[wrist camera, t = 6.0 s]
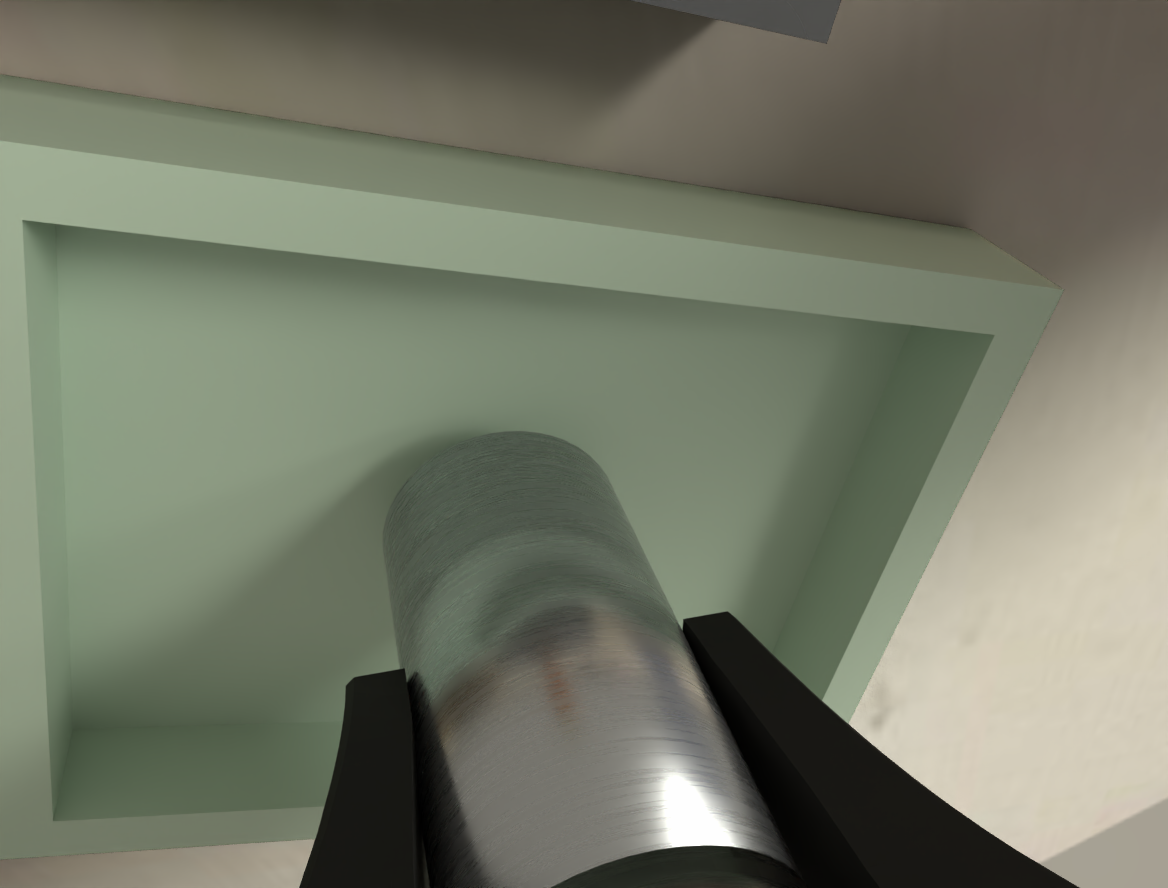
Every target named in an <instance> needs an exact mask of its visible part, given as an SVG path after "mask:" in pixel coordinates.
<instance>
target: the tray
mask: <svg viewBox="0 0 1168 888" xmlns="http://www.w3.org/2000/svg"><path fill="white" fill-rule="evenodd" d="M1063 291H1064V290H1063V289H1062V288H1060V287H1059V286H1057V285H1056V284H1054V283H1053V282H1051V281H1049V280H1048V279H1046V278H1045V277H1043V276H1042V275H1040V274H1039V273H1037V272H1036V271H1034V270H1033V269H1031V268H1029V267H1028V266H1026V265H1025V264H1023V263H1022V262H1020V261H1019V260H1017V259H1016V258H1014V257H1013V256H1011V255H1009V254H1008V253H1006V252H1005V251H1003V250H1002V249H1000V248H999V247H997V246H996V245H994V244H992V243H991V242H989V241H988V240H986V239H985V238H983V237H982V236H980V235H979V234H977V233H976V232H974V231H972V230H971V229H967V228H961V227H954V226H948V225H942V224H936V223H929V222H923V221H917V220H911V219H904V218H898V217H892V216H885V215H879V214H873V213H867V212H860V211H854V210H848V209H842V208H835V207H829V206H823V205H816V204H810V203H804V202H798V201H791V200H785V199H779V198H773V197H766V196H760V195H754V194H747V193H741V192H735V191H729V190H722V189H716V188H710V187H704V186H697V185H691V184H685V183H678V182H672V181H666V180H660V179H653V178H647V177H641V176H635V175H628V174H622V173H616V172H609V171H603V170H597V169H591V168H584V167H578V166H572V165H566V164H559V163H553V162H547V161H540V160H534V159H528V158H522V157H515V156H509V155H503V154H497V153H490V152H484V151H478V150H471V149H465V148H459V147H453V146H446V145H440V144H434V143H428V142H421V141H415V140H409V139H402V138H396V137H390V136H384V135H377V134H371V133H365V132H359V131H352V130H346V129H340V128H334V127H327V126H321V125H315V124H308V123H302V122H296V121H290V120H283V119H277V118H271V117H265V116H258V115H252V114H246V113H239V112H233V111H227V110H221V109H214V108H208V107H202V106H196V105H189V104H183V103H177V102H170V101H164V100H158V99H152V98H145V97H139V96H133V95H127V94H120V93H114V92H108V91H101V90H95V89H89V88H83V87H76V86H70V85H64V84H58V83H51V82H45V81H39V80H32V79H26V78H20V77H14V76H7V75H1V74H0V860H4V859H19V858H34V857H49V856H64V855H79V854H94V853H109V852H125V851H140V850H155V849H170V848H185V847H200V846H215V845H230V844H245V843H261V842H276V841H291V840H306V839H316V835H317V832H318V828H319V825H320V821H321V817H322V813H323V810H324V806H325V802H326V799H327V795H328V791H329V787H330V784H331V780H332V776H333V771H334V766H335V762H336V757H337V752H338V748H339V742H340V737H341V731H342V724H343V717H344V708H345V690H346V685H347V684H348V683H349V682H350V681H351V680H352V679H353V678H354V677H358V676H363V675H369V674H375V673H380V672H386V671H392V670H397V669H400V668H399V661H398V654H397V646H396V639H395V632H394V625H393V617H392V610H391V603H390V596H389V588H388V581H387V574H386V567H385V559H384V552H383V530H384V525H385V519H386V517H387V514H388V511H389V508H390V506H391V504H392V502H393V500H394V498H395V496H396V494H397V493H398V491H399V490H400V489H401V487H402V486H403V485H404V483H405V482H406V481H407V480H408V478H409V477H410V476H411V475H412V474H413V473H414V472H415V471H416V470H417V469H418V468H419V467H421V466H422V465H423V464H424V463H426V462H427V461H428V460H429V459H431V458H432V457H434V456H435V455H437V454H438V453H440V452H442V451H443V450H445V449H447V448H449V447H451V446H453V445H455V444H457V443H460V442H463V441H465V440H468V439H471V438H474V437H478V436H482V435H486V434H490V433H497V432H505V431H526V432H536V433H542V434H546V435H551V436H554V437H557V438H560V439H562V440H565V441H567V442H569V443H571V444H573V445H575V446H577V447H579V448H580V449H582V450H583V451H584V452H586V453H587V454H588V455H590V456H591V457H592V458H593V459H594V460H595V461H596V462H597V463H598V464H599V465H600V467H601V468H602V469H603V471H604V472H605V473H606V475H607V477H608V479H609V481H610V483H611V485H612V487H613V489H614V491H615V493H616V495H617V497H618V499H619V501H620V503H621V505H622V507H623V509H624V511H625V513H626V515H627V518H628V520H629V522H630V524H631V526H632V528H633V530H634V532H635V534H636V536H637V538H638V540H639V542H640V544H641V546H642V548H643V550H644V553H645V555H646V557H647V559H648V561H649V563H650V565H651V567H652V569H653V571H654V573H655V575H656V577H657V579H658V581H659V583H660V586H661V588H662V590H663V592H664V594H665V596H666V598H667V600H668V602H669V604H670V606H671V608H672V610H673V612H674V614H675V616H676V618H677V621H678V623H679V625H680V627H681V629H683V619H686V618H692V617H697V616H703V615H709V614H714V613H720V612H726V611H728V612H729V613H731V614H732V615H733V616H734V617H736V618H737V619H738V620H739V621H740V622H741V623H742V624H743V625H744V626H745V627H746V628H747V629H748V630H749V631H750V632H751V633H752V634H753V635H754V636H755V637H756V638H757V639H758V640H759V641H760V642H761V643H762V644H763V645H764V646H765V647H766V648H767V649H768V650H769V651H770V652H771V653H772V654H773V655H774V656H775V657H776V658H777V659H778V660H779V661H780V662H781V663H782V664H783V665H784V666H786V667H787V668H788V669H789V670H790V671H791V672H792V673H793V674H794V675H795V676H796V677H797V678H798V679H799V680H800V681H801V682H802V683H803V684H804V685H806V686H807V687H808V688H809V689H810V690H811V691H812V692H813V693H814V694H815V695H816V696H817V697H819V698H820V699H821V700H822V701H823V702H824V703H825V704H826V705H827V706H829V707H830V708H831V709H832V710H833V711H834V712H835V713H837V714H838V715H839V716H840V717H841V718H842V719H843V720H844V721H846V722H847V723H849V721H850V719H851V717H852V715H853V713H854V711H855V709H856V707H857V705H858V703H859V701H860V699H861V697H862V695H863V693H864V691H865V689H866V687H867V685H868V683H869V681H870V679H871V677H872V675H873V673H874V671H875V669H876V667H877V665H878V663H879V661H880V659H881V657H882V655H883V653H884V651H885V649H886V647H887V645H888V643H889V641H890V639H891V637H892V635H893V633H894V631H895V629H896V627H897V625H898V623H899V621H900V619H901V617H902V615H903V613H904V611H905V609H906V607H907V605H908V603H909V601H910V599H911V597H912V595H913V593H914V591H915V589H916V587H917V585H918V583H919V581H920V579H921V577H922V575H923V573H924V571H925V569H926V567H927V565H928V563H929V561H930V559H931V557H932V555H933V553H934V551H935V549H936V547H937V545H938V543H939V541H940V539H941V537H942V535H943V532H944V530H945V528H946V526H947V524H948V522H949V520H950V518H951V516H952V514H953V512H954V510H955V508H956V506H957V504H958V502H959V500H960V498H961V496H962V494H963V492H964V490H965V488H966V486H967V484H968V482H969V480H970V478H971V476H972V474H973V472H974V470H975V468H976V466H977V464H978V462H979V460H980V458H981V456H982V454H983V452H984V450H985V448H986V446H987V444H988V442H989V440H990V438H991V436H992V434H993V432H994V430H995V428H996V426H997V424H998V422H999V420H1000V418H1001V416H1002V414H1003V412H1004V410H1005V408H1006V406H1007V404H1008V402H1009V400H1010V398H1011V396H1012V394H1013V392H1014V390H1015V388H1016V386H1017V384H1018V382H1019V380H1020V378H1021V376H1022V374H1023V372H1024V370H1025V368H1026V366H1027V364H1028V362H1029V360H1030V358H1031V356H1032V354H1033V352H1034V350H1035V348H1036V346H1037V344H1038V342H1039V340H1040V338H1041V336H1042V333H1043V331H1044V329H1045V327H1046V325H1047V323H1048V321H1049V319H1050V317H1051V315H1052V313H1053V311H1054V309H1055V307H1056V305H1057V303H1058V301H1059V299H1060V297H1061V295H1062V293H1063Z"/></svg>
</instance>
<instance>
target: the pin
mask: <svg viewBox="0 0 1168 888" xmlns="http://www.w3.org/2000/svg"><path fill="white" fill-rule="evenodd" d="M383 552H384V559H385V567H386V574H387V581H388V588H389V596H390V603H391V610H392V617H393V625H394V632H395V639H396V646H397V654H398V661H399V668H400V669H403V668H405V674H406V680H407V687H408V694H409V700H410V707H411V714H412V721H413V729H414V737H415V745H416V761H417V780H418V796H419V811H420V820H421V828H422V835H423V842H424V849H425V857H426V864H427V871H428V878H429V886H430V888H807V886H806V884H805V882H804V880H803V878H802V876H801V874H800V872H799V870H798V868H797V866H796V864H795V861H794V859H793V857H792V855H791V853H790V851H789V849H788V847H787V845H786V843H785V841H784V839H783V837H782V835H781V833H780V831H779V829H778V826H777V824H776V822H775V820H774V818H773V816H772V814H771V812H770V810H769V808H768V806H767V804H766V802H765V800H764V798H763V796H762V793H761V791H760V789H759V787H758V785H757V783H756V781H755V779H754V777H753V775H752V773H751V771H750V769H749V767H748V765H747V763H746V761H745V758H744V756H743V754H742V752H741V750H740V748H739V746H738V744H737V742H736V740H735V738H734V736H733V734H732V732H731V730H730V728H729V726H728V723H727V721H726V719H725V717H724V715H723V713H722V711H721V709H720V707H719V705H718V703H717V701H716V699H715V697H714V695H713V693H712V691H711V688H710V686H709V684H708V682H707V680H706V678H705V676H704V674H703V672H702V670H701V668H700V666H699V664H698V662H697V660H696V658H695V656H694V653H693V651H692V649H691V647H690V645H689V643H688V641H687V639H686V637H685V635H684V633H683V631H682V629H681V627H680V625H679V623H678V621H677V618H676V616H675V614H674V612H673V610H672V608H671V606H670V604H669V602H668V600H667V598H666V596H665V594H664V592H663V590H662V588H661V586H660V583H659V581H658V579H657V577H656V575H655V573H654V571H653V569H652V567H651V565H650V563H649V561H648V559H647V557H646V555H645V553H644V550H643V548H642V546H641V544H640V542H639V540H638V538H637V536H636V534H635V532H634V530H633V528H632V526H631V524H630V522H629V520H628V518H627V515H626V513H625V511H624V509H623V507H622V505H621V503H620V501H619V499H618V497H617V495H616V493H615V491H614V489H613V487H612V485H611V483H610V481H609V479H608V477H607V475H606V473H605V472H604V471H603V469H602V468H601V467H600V465H599V464H598V463H597V462H596V461H595V460H594V459H593V458H592V457H591V456H590V455H588V454H587V453H586V452H584V451H583V450H582V449H580V448H579V447H577V446H575V445H573V444H571V443H569V442H567V441H565V440H562V439H560V438H557V437H554V436H551V435H546V434H542V433H536V432H526V431H505V432H497V433H490V434H486V435H482V436H478V437H474V438H471V439H468V440H465V441H463V442H460V443H457V444H455V445H453V446H451V447H449V448H447V449H445V450H443V451H442V452H440V453H438V454H437V455H435V456H434V457H432V458H431V459H429V460H428V461H427V462H426V463H424V464H423V465H422V466H421V467H419V468H418V469H417V470H416V471H415V472H414V473H413V474H412V475H411V476H410V477H409V478H408V480H407V481H406V482H405V483H404V485H403V486H402V487H401V489H400V490H399V491H398V493H397V494H396V496H395V498H394V500H393V502H392V504H391V506H390V508H389V511H388V514H387V517H386V519H385V525H384V530H383Z"/></svg>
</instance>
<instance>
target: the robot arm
mask: <svg viewBox="0 0 1168 888" xmlns="http://www.w3.org/2000/svg"><path fill="white" fill-rule="evenodd" d="M682 631H683V633H684V635H685V637H686V639H687V641H688V643H689V645H690V647H691V649H692V651H693V653H694V656H695V658H696V660H697V662H698V664H699V666H700V668H701V670H702V672H703V674H704V676H705V678H706V680H707V682H708V684H709V686H710V688H711V691H712V693H713V695H714V697H715V699H716V701H717V703H718V705H719V707H720V709H721V711H722V713H723V715H724V717H725V719H726V721H727V723H728V726H729V728H730V730H731V732H732V734H733V736H734V738H735V740H736V742H737V744H738V746H739V748H740V750H741V752H742V754H743V756H744V758H745V761H746V763H747V765H748V767H749V769H750V771H751V773H752V775H753V777H754V779H755V781H756V783H757V785H758V787H759V789H760V791H761V793H762V796H763V798H764V800H765V802H766V804H767V806H768V808H769V810H770V812H771V814H772V816H773V818H774V820H775V822H776V824H777V826H778V829H779V831H780V833H781V835H782V837H783V839H784V841H785V843H786V845H787V847H788V849H789V851H790V853H791V855H792V857H793V859H794V861H795V864H796V866H797V868H798V870H799V872H800V874H801V876H802V878H803V880H804V882H805V884H806V886H807V888H1079V887H1077V886H1076V885H1074V884H1072V883H1071V882H1069V881H1067V880H1066V879H1064V878H1062V877H1060V876H1059V875H1057V874H1055V873H1054V872H1052V871H1050V870H1049V869H1047V868H1045V867H1044V866H1042V865H1040V864H1039V863H1037V862H1035V861H1034V860H1032V859H1030V858H1028V857H1027V856H1025V855H1023V854H1022V853H1020V852H1018V851H1017V850H1015V849H1014V848H1012V847H1011V846H1009V845H1008V844H1006V843H1004V842H1003V841H1001V840H1000V839H998V838H997V837H995V836H994V835H992V834H991V833H989V832H988V831H986V830H985V829H983V828H982V827H980V826H979V825H977V824H976V823H975V822H973V821H972V820H970V819H969V818H967V817H966V816H965V815H963V814H962V813H960V812H959V811H957V810H956V809H955V808H953V807H952V806H950V805H949V804H948V803H946V802H945V801H943V800H942V799H941V798H939V797H938V796H937V795H935V794H934V793H933V792H931V791H930V790H929V789H927V788H926V787H925V786H923V785H922V784H921V783H920V782H918V781H917V780H916V779H914V778H913V777H912V776H910V775H909V774H908V773H907V772H905V771H904V770H903V769H902V768H900V767H899V766H898V765H897V764H895V763H894V762H893V761H892V760H890V759H889V758H888V757H887V756H885V755H884V754H883V753H882V752H881V751H879V750H878V749H877V748H876V747H875V746H873V745H872V744H871V743H870V742H869V741H867V740H866V739H865V738H864V737H863V736H862V735H860V734H859V733H858V732H857V731H856V730H855V729H853V728H852V727H851V726H850V725H849V724H848V723H847V722H846V721H844V720H843V719H842V718H841V717H840V716H839V715H838V714H837V713H835V712H834V711H833V710H832V709H831V708H830V707H829V706H827V705H826V704H825V703H824V702H823V701H822V700H821V699H820V698H819V697H817V696H816V695H815V694H814V693H813V692H812V691H811V690H810V689H809V688H808V687H807V686H806V685H804V684H803V683H802V682H801V681H800V680H799V679H798V678H797V677H796V676H795V675H794V674H793V673H792V672H791V671H790V670H789V669H788V668H787V667H786V666H784V665H783V664H782V663H781V662H780V661H779V660H778V659H777V658H776V657H775V656H774V655H773V654H772V653H771V652H770V651H769V650H768V649H767V648H766V647H765V646H764V645H763V644H762V643H761V642H760V641H759V640H758V639H757V638H756V637H755V636H754V635H753V634H752V633H751V632H750V631H749V630H748V629H747V628H746V627H745V626H744V625H743V624H742V623H741V622H740V621H739V620H738V619H737V618H736V617H734V616H733V615H732V614H731V613H729V612H728V611H726V612H720V613H714V614H709V615H703V616H697V617H692V618H686V619H683V629H682ZM299 888H430V886H429V878H428V871H427V864H426V857H425V849H424V842H423V835H422V828H421V820H420V811H419V796H418V780H417V761H416V745H415V737H414V729H413V721H412V714H411V707H410V700H409V694H408V687H407V680H406V674H405V668H403V669H397V670H392V671H386V672H380V673H375V674H369V675H363V676H358V677H354V678H353V679H352V680H351V681H350V682H349V683H348V684H347V685H346V690H345V708H344V717H343V724H342V731H341V737H340V742H339V748H338V752H337V757H336V762H335V766H334V771H333V776H332V780H331V784H330V787H329V791H328V795H327V799H326V802H325V806H324V810H323V813H322V817H321V821H320V825H319V828H318V832H317V835H316V839H315V842H314V845H313V848H312V851H311V854H310V857H309V860H308V863H307V866H306V869H305V872H304V875H303V878H302V881H301V884H300V887H299Z"/></svg>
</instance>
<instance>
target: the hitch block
mask: <svg viewBox="0 0 1168 888" xmlns="http://www.w3.org/2000/svg"><path fill="white" fill-rule="evenodd" d="M631 1H636V2H640V3H645V4H649V5H654V6H658V7H663V8H668V9H672V10H677V11H681V12H686V13H690V14H695V15H699V16H704V17H708V18H713V19H717V20H722V21H726V22H731V23H735V24H740V25H745V26H749V27H754V28H758V29H763V30H767V31H772V32H776V33H781V34H785V35H790V36H794V37H799V38H803V39H808V40H813V41H817V42H822V43H826V44H827V41H828V38H829V35H830V32H831V29H832V26H833V23H834V20H835V17H836V14H837V11H838V8H839V5H840V2H841V0H631Z"/></svg>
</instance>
